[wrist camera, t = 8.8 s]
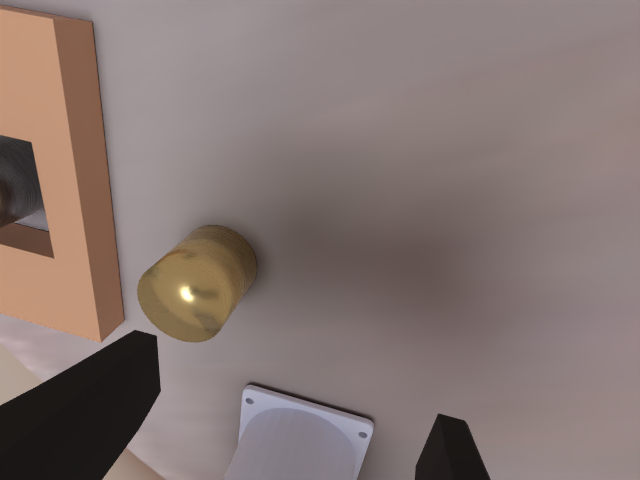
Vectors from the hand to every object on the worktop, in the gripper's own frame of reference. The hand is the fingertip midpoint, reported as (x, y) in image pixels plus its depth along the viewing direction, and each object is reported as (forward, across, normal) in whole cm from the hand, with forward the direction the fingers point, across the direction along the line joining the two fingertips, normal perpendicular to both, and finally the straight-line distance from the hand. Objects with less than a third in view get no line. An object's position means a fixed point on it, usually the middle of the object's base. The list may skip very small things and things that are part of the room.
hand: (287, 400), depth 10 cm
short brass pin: (+10, +6, +3) cm, 12 cm away
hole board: (+9, +17, +1) cm, 20 cm away
